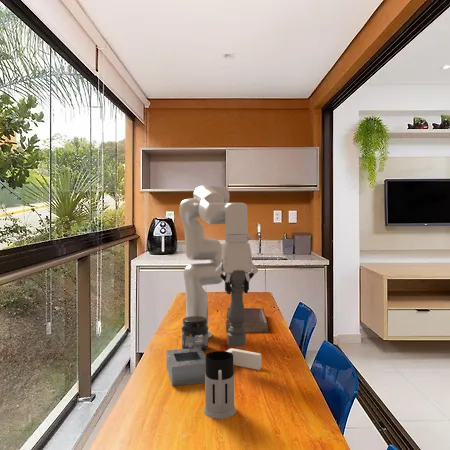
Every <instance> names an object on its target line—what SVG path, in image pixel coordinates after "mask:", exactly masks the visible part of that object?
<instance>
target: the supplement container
mask: <svg viewBox="0 0 450 450" xmlns="http://www.w3.org/2000/svg"><path fill="white" fill-rule="evenodd" d="M206 324H207V318H205V317H201V316H190V317H184V318H182V326H181V349H189V348H200V347H201V349H202V351H203V352H205V351H206V350H208V348H209V338H208V331H209V325H208V326H207V325H206Z"/></svg>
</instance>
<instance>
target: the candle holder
mask: <svg viewBox="0 0 450 450" xmlns="http://www.w3.org/2000/svg"><path fill="white" fill-rule="evenodd" d="M229 280H230V283H231V294H230V296H231V297H230V298H231V299H230V304H229V307H228V308H229V312H228V319H229V321H230V324H231V326H230V328H229V329H228V331H229V332H227V337H226V339H227V346H230V347H234V348H235V347H236V348H241V347H244V346H246V343H247V342H246V341H247V339H246V338H247V334H246V332H245V329H244V327H243V326H242V325H243V322H244V321H245V319H246V314H245V310H244V308H245V305H244V300H243V296H244V295H243V293H244V292H243V291H244V290H245V288H244V287H243V284H244V282H245V280H246V276H245V271H233V273H232V274H231V276H230V279H229Z"/></svg>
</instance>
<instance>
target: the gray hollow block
mask: <svg viewBox="0 0 450 450" xmlns="http://www.w3.org/2000/svg"><path fill="white" fill-rule="evenodd" d="M204 352H205V351H202V349H201V347H200V348H189V349H182V348H180V349H178V348H177V349H170V350H166V370H167V373H168V377H169V380H170V384H171V386H172V387H177V386H185V385H187V386H188V385H193V384H194V385H195V384H205V371H206V354H205V353H204Z"/></svg>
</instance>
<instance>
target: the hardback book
mask: <svg viewBox="0 0 450 450" xmlns="http://www.w3.org/2000/svg"><path fill="white" fill-rule="evenodd" d="M229 308H230V307H227V311H226V320H225V321H226V322H225V330H226V331H225V332H226V333H229V331H228V329H229V328H230V326H231V324H230V321H229V319H228V312H229ZM244 310H245V314H246V319H245V321H244V322H243V325H242V326H243V327H244V329H245V332H244V333H269V325H268V321H267V318H266V317H267V316H266V314H265V310H264V308H262V307H261V308H253V307H252V308H250V307H247V308H246V307H244Z"/></svg>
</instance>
